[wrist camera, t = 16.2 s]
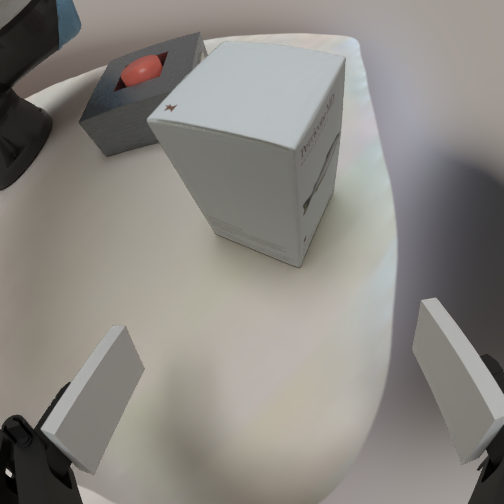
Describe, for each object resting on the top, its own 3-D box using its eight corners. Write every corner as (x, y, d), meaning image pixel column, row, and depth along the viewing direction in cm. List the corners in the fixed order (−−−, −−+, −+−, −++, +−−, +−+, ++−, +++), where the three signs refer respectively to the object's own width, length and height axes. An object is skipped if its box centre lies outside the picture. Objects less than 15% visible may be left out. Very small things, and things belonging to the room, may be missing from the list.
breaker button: (135, 115, 29) (115, 84, 24) (143, 92, 31) (126, 62, 26) (171, 105, 28) (154, 71, 24) (176, 83, 30) (161, 50, 25)
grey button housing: (106, 156, 29) (78, 122, 24) (129, 92, 34) (110, 61, 28) (209, 131, 28) (190, 86, 22) (214, 69, 32) (201, 31, 27)
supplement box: (300, 271, 21) (293, 154, 10) (213, 234, 23) (138, 118, 12) (337, 190, 23) (350, 54, 11) (255, 163, 25) (221, 37, 14)
